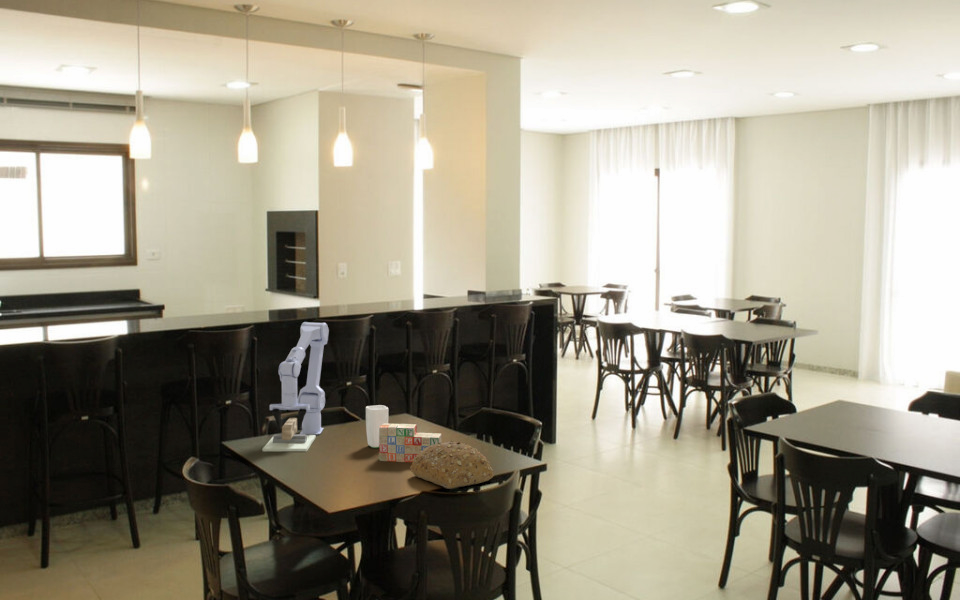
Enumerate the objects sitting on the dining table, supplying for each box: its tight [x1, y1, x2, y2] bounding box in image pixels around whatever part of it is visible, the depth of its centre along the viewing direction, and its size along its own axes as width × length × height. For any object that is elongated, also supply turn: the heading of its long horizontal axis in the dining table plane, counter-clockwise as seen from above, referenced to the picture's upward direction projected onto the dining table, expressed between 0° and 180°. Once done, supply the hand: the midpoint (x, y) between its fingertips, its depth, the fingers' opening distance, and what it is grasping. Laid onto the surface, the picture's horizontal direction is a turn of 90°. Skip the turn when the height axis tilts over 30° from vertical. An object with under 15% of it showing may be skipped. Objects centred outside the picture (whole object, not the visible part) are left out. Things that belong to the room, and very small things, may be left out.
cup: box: [365, 404, 389, 449], centre depth 303 cm, size 7×7×15 cm
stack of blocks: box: [378, 422, 443, 463], centre depth 286 cm, size 21×6×12 cm, turn 83°
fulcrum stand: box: [262, 433, 317, 452], centre depth 305 cm, size 20×16×4 cm
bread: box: [409, 440, 494, 490], centre depth 264 cm, size 24×21×12 cm
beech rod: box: [281, 417, 298, 440], centre depth 305 cm, size 14×3×5 cm, turn 2°
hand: (289, 428), depth 305 cm, fingers open, 7 cm apart
